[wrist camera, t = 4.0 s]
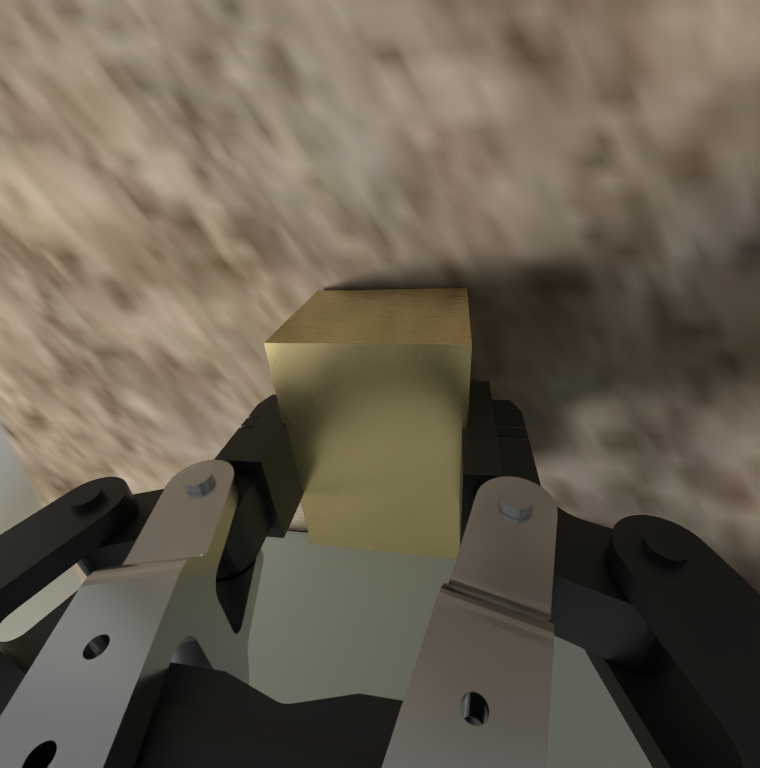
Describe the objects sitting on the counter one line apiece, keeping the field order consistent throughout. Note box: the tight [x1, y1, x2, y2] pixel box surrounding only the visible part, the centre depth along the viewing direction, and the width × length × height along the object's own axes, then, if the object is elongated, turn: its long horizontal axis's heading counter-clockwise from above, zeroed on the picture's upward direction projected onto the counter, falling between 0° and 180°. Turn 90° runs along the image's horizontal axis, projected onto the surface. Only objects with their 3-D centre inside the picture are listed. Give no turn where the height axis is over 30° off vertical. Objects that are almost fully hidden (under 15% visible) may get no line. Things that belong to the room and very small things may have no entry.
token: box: [264, 288, 472, 559], centre depth 10 cm, size 6×4×4 cm, turn 3°
